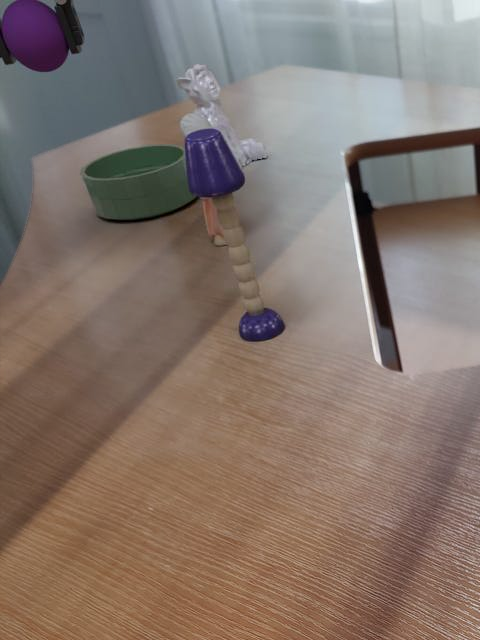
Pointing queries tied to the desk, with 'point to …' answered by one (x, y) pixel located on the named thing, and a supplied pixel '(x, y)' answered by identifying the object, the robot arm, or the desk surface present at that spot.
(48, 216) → the desk surface
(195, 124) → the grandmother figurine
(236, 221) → the toy lamp
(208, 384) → the desk surface
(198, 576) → the desk surface
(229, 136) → the white creature statuette
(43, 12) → the ball
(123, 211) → the bowl
